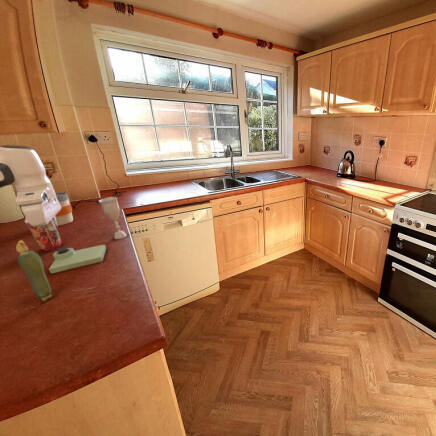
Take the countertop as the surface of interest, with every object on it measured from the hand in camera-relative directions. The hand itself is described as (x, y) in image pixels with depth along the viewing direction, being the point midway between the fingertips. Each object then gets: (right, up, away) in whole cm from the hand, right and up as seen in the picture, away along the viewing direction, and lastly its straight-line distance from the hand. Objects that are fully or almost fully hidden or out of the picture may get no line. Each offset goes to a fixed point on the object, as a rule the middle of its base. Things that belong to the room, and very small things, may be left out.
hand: (54, 229), depth 90 cm
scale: (+6, -12, +4) cm, 14 cm away
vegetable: (+14, -20, -16) cm, 30 cm away
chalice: (+9, -5, +23) cm, 25 cm away
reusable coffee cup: (-36, +2, +42) cm, 55 cm away
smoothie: (-15, -9, +15) cm, 23 cm away
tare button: (0, -9, +4) cm, 10 cm away
